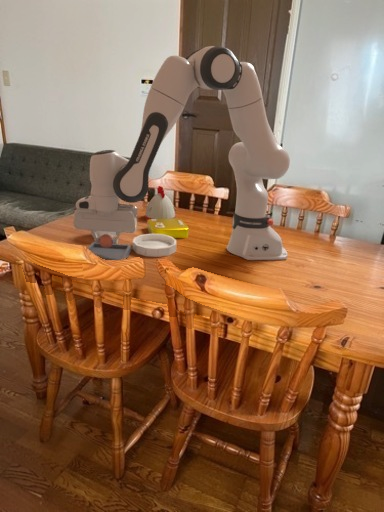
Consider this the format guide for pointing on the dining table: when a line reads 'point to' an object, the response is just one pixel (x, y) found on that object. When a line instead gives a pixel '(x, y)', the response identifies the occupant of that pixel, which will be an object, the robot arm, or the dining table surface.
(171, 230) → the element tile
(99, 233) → the lidded jar
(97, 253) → the tray
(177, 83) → the robot arm
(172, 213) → the white chicken figure
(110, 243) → the ball
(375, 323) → the dining table surface
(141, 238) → the white round dish
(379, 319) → the dining table surface
